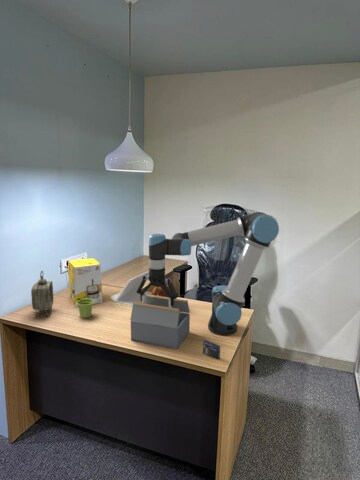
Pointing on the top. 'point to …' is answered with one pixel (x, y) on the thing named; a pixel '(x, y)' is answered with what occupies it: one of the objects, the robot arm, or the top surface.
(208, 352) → the mini dv tape
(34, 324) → the top surface
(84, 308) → the plant pot
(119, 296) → the tablet stand
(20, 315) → the top surface
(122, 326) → the top surface
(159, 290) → the reddish brown bumpy lump
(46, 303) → the tabletop clock
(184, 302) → the far flap
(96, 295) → the packaging box
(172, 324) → the near flap
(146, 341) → the carton
